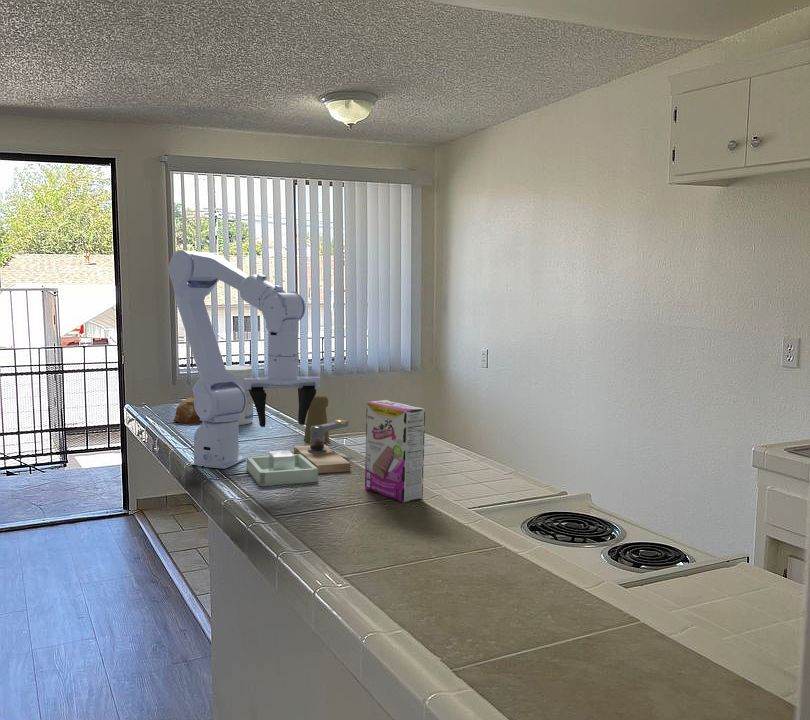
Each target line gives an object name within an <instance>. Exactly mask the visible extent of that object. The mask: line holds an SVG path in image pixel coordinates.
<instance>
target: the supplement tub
mask: <svg viewBox="0 0 810 720" xmlns="http://www.w3.org/2000/svg"><path fill="white" fill-rule="evenodd" d="M225 369H226V370H227V371H228V372H229V373H231V374H232V375H234V376H235V377H237V378H238V382H239V384H240V386H241V387H242V388H243V390H244V391H245V393H246V396H247V407H246V409H245V411H244V412H243V413H242V414H241V418H240V419H239V426H245V425H249V424H251V423H252V422H253V420H254V402H253V399H252V397H251V395H250V393H249V389H244V378H254V372H253V370H254V369H253V367H252V366H249V365H248V366H247V365H225Z"/></svg>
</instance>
